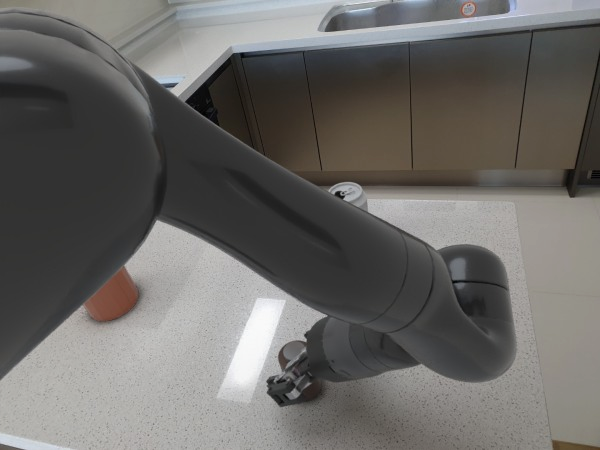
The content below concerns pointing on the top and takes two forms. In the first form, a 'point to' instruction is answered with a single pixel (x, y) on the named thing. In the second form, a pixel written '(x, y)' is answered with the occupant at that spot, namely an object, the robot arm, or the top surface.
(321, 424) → the top surface
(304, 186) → the robot arm
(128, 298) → the terracotta plant pot
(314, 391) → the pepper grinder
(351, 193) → the can
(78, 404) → the top surface
